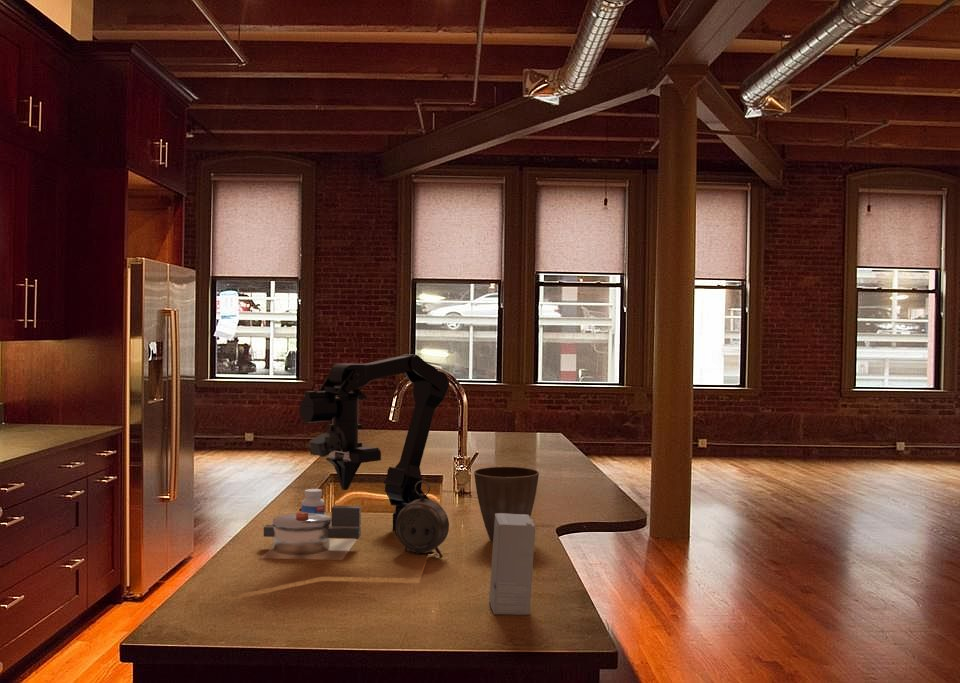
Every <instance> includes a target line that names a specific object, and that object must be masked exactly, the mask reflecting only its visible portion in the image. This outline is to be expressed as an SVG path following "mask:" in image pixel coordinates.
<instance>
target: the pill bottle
mask: <svg viewBox="0 0 960 683" xmlns="http://www.w3.org/2000/svg"><path fill="white" fill-rule="evenodd" d="M322 496H323V490H322V489H320V488H309V489H305V490H304V499H302V501H301V510H300V512H307V513H316V514H324V515H325V500H324V499H323V498H322Z"/></svg>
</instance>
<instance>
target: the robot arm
mask: <svg viewBox="0 0 960 683" xmlns="http://www.w3.org/2000/svg"><path fill="white" fill-rule="evenodd" d="M399 374H404V375H405V376H406V378H407V380H408V381H409V382H410V383H412V384H413V389H412V396H413V399H414V408H413V411H412V415H411V418H410V419H411V420H410V422H409V427H408V430H407V432H406V438H405V441H404V445H403V448H402V453H401V456H400V459H399V462H398V463H397V464H396V465H395V466H394V467H392V466H388V469H387V473H386V478H385V480H384V482H383V484H384V485H385V487H384V492H385V494H386V497H388V500H389V504H390V506H392V507H393V506H395V511H394V512H393V513H392V532H394V531H395V532H396V519H397V516H398V514H399V513H400V511H401V510H402V509H403V508H404V507H405V506H407V505H408V504H409V503H411V502H412V501H414V500H417V499H420V498H421V496H420V495H418V494H422V493H423V494H425V491H423V490H422V485H423V484H422V483H423V482H420V483H418V484H417V486H416V491H417V492H418V494H417V493H416V491H415V485H416V483H417V482H419V481H423V477H422V473H421V463H422V460H423V456H424V452H425V448H426V444H427V440H428V436H429V433H430V429H431V428H432V422H433V419H434V415H435V411H436V409H437V408H438V406H439V405H440V404H441V403H442V402H443V401H444V399H445V397H446V396H447V393H448V390H449V388H450V380H449V378H448V376H447V374H446V373H445V372H442V371H440V370H439V369H438V368H436V367H435V366H433V365H431V364H430V363H429V362H427V361H425V360H424V359H423V358H422V357H421V356H419V355H417V354H411V353H409V354H408V353H403V354H402V355H399V356H395V357H389V358H385V359H380V360H375V361H371V362H366V363H335V364H333V365H332V366H330V370H329V371H328V375H327V377H326V379H325V380H324V382H323V383H322V385H321V386H320V388H319V390H318V391H314V390H313V391H312V390H305V391H304V396H303V398H302V399H301V401H300V404H299V406H298V409H299V411H298V412H299V416H300V419H301V420H302V421H303V422H304V424H305V423H307V424H309V423H310V424H311V423H323V422H330V421H332V423H331V424H330V423H329V424H328V426H327V430H326V432H324V433H321V434H320V435H318V436H316V437H314V438H312V439H310V440H309V441H308V444H309V447H310V455H312V456H319V457H321V458H322V457H326V456H327V457H326V458H325V460H326V461H328V462H329V463H330V464H331V465H332V466H333V467H334V469H335V472H336V475H337V478H338V481H339V485H340V489H341V490H343V491H347V490H349V487H350V486H351V483H352V482H353V480H354V477H355V475H356V473H357V471H358V469H359V468H360V466H361V465H362V464H364V463H370V462H371V463H372V462H380V461H382V451H381V450H380V448H379V447H374V446H369V445H368V446H363V442H360V441H359V430H363V424H362V423H361V424H360V423H359V400H367V398H368V396H367V395H366V394H365V393H363V391H362V389H361V388H362V387H366V386H367V385H368V384H370V382H372V381H375V380H378V379H379V380H380V379H383V378H387V377H391V376H397V375H399ZM424 499H429V500H431V499H430V497H428V495H426V496H424Z"/></svg>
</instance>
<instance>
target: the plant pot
mask: <svg viewBox="0 0 960 683" xmlns="http://www.w3.org/2000/svg"><path fill="white" fill-rule="evenodd" d="M473 475H474V476H473V477H474V481H475V488H476V494H477V495H476V496H477V500H478V505H479V508H480V509H479V510H480V514H481V518H482V520H483V523H484V527H485V529H486V532H487V536H488V538H489V540H490V542H491V543H493V537H494V523H495V514H496V513H507V514H526V515H529V516H530V517H531V516H532V512H533V509H534V504H535V500H536V495H537V488H538V482H539V476H540V471H538V470H536V469H532V468H527V467H520V466H519V467H517V466H495V467H494V466H492V467H491V466H490V467H481V468H478V469H475V470H474V471H473Z"/></svg>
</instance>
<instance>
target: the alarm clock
mask: <svg viewBox="0 0 960 683" xmlns="http://www.w3.org/2000/svg"><path fill="white" fill-rule="evenodd" d="M420 482H422V483H425V484H426V485H427V486H428V491H427V492H426V493H424V494H423V493H422V494H418V492H417V491H416V486H417V484H418V483H420ZM430 489H431V486H430V484H429V483H428V482H427V481H425V480H422V481H419V482H417V483H416V485H415V491H416V493H417V494H418V495H420V496H421V498H420V499H417V500H414V501H412V502H411V503H409V504H408V505H407V506H405V507H404V508H403V509H402V510H401V511H400V513H399V514H398V516H397V519H396V531H395V533H396V536H397V538H398V541H399V542H400V543H401V544H402V546H404V549H403V551H408V550H409V551H411V552H413V553H415V556H420V554H426V553H430V552H432V551H435V552H436V553H437V554H438V555H439V557H440V558H443V554H442V552H441V550H440V548H439V546H441V545H443V542H444V541H445V540H446V539H447V537H448V534H449V530H450V522H449V517H448V515H447V513H446V511H445V510H444V508H443V507H442V506H441V505H440V504H439V503H438V502H436V501H434V500H432V499H430V498H429V499H430V500H429V499H424V496H428V494H429V493H430V491H431V490H430Z"/></svg>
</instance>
